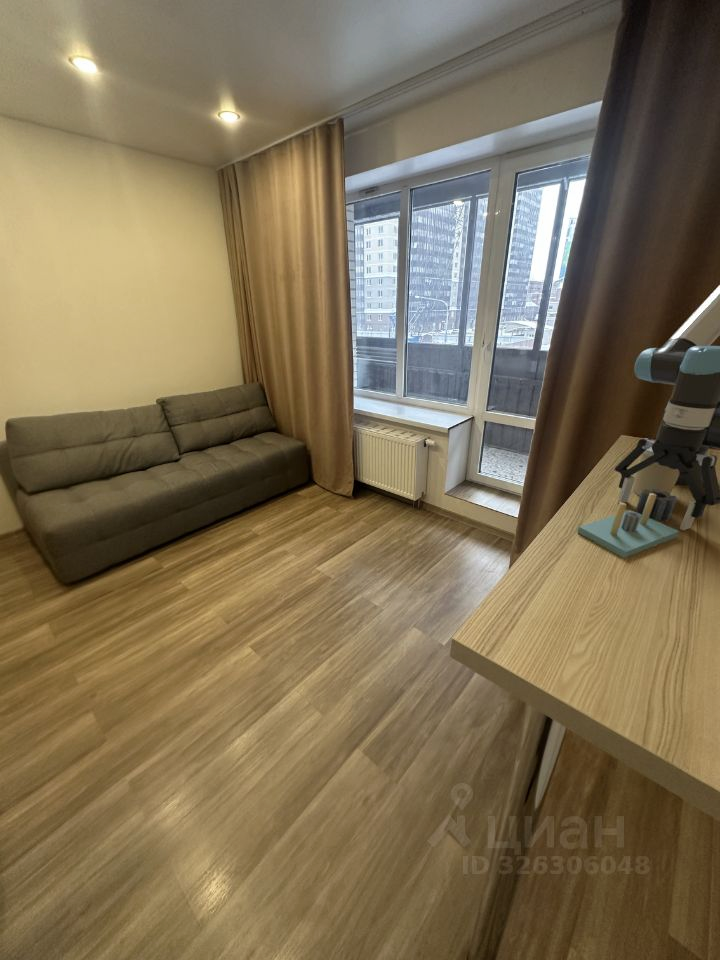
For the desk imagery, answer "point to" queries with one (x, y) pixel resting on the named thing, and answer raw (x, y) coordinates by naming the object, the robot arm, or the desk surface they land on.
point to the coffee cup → (654, 476)
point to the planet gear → (657, 504)
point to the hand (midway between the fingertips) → (651, 514)
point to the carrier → (628, 530)
